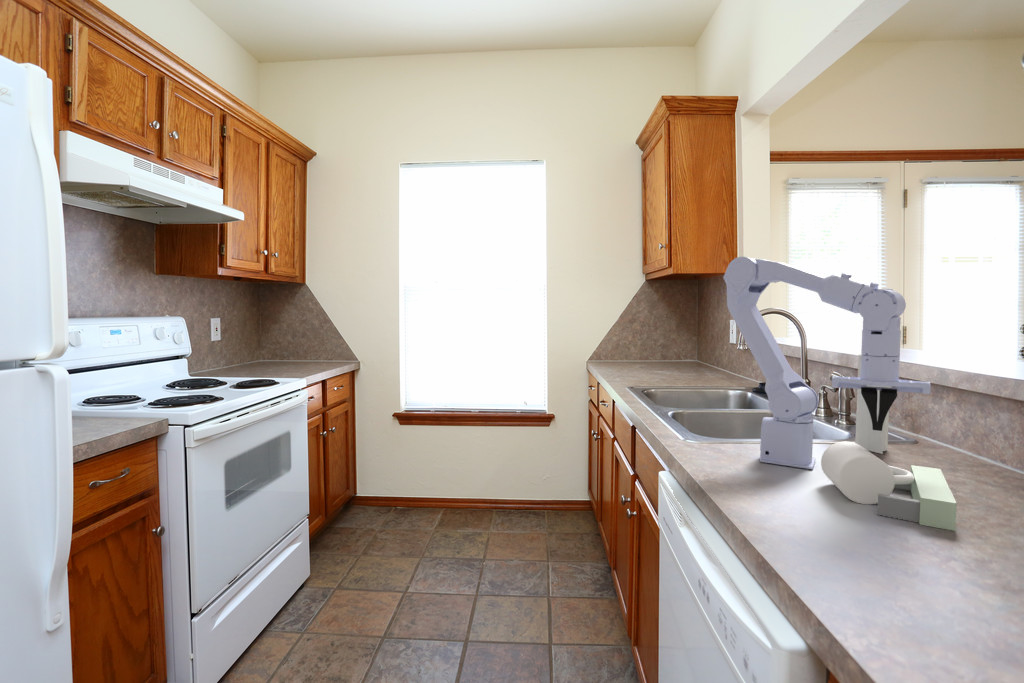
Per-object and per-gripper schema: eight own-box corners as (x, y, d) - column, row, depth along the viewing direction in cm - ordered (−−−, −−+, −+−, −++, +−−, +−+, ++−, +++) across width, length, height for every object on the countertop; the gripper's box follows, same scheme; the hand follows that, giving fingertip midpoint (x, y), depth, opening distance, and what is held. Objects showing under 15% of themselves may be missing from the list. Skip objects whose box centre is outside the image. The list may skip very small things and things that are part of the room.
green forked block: (877, 516, 78) (878, 491, 78) (875, 482, 94) (876, 460, 94) (955, 530, 73) (956, 503, 73) (939, 491, 89) (940, 468, 89)
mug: (837, 502, 84) (839, 454, 84) (819, 482, 94) (821, 439, 94) (924, 510, 81) (926, 460, 81) (897, 489, 91) (898, 444, 90)
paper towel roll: (859, 443, 121) (862, 352, 119) (890, 448, 116) (894, 354, 115) (850, 449, 116) (853, 354, 115) (882, 455, 111) (886, 356, 110)
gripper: (832, 355, 95) (829, 428, 95) (933, 359, 86) (930, 439, 87) (833, 352, 100) (831, 421, 101) (929, 356, 92) (926, 431, 93)
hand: (877, 429), depth 95 cm, fingers closed
